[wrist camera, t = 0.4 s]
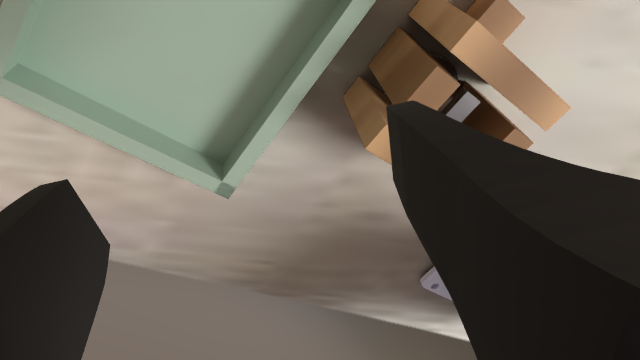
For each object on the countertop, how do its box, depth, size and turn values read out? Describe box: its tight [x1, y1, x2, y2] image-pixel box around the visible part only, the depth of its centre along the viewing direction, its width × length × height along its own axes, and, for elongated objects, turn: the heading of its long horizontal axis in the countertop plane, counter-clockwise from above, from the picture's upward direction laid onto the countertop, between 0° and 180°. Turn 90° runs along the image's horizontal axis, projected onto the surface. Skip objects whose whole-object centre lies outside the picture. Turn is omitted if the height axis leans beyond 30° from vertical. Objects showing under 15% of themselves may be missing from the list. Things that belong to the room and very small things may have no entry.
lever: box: [431, 55, 480, 122], centre depth 19 cm, size 2×2×3 cm
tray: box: [0, 0, 376, 199], centre depth 16 cm, size 10×11×2 cm
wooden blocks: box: [342, 0, 571, 165], centre depth 18 cm, size 6×7×4 cm
